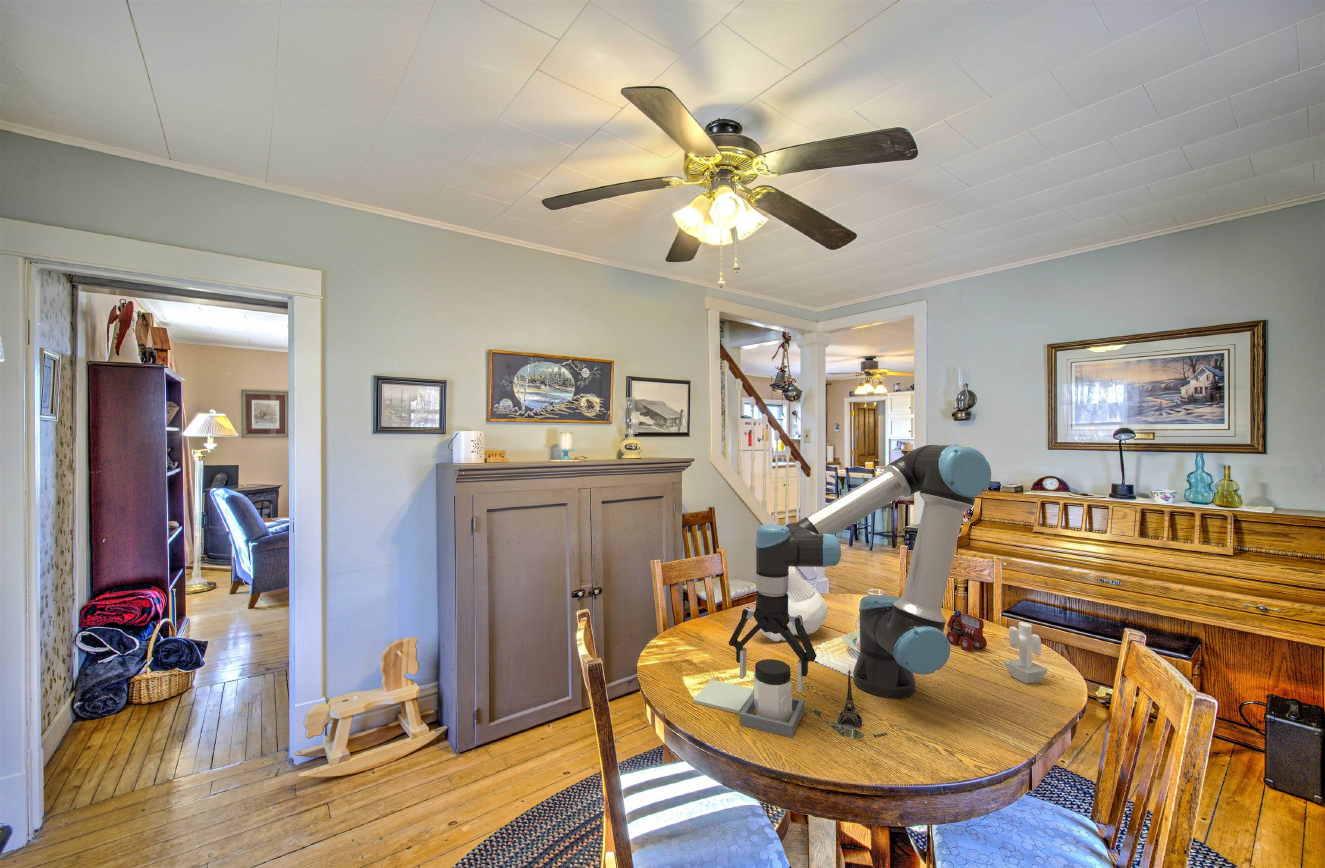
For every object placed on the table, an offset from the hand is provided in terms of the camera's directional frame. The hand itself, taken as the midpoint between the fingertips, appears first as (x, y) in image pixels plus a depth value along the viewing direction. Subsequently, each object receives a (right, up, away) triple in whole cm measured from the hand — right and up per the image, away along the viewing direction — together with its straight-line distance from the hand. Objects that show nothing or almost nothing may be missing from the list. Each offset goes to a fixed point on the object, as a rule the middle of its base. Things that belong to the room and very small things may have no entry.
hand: (770, 682), depth 124 cm
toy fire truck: (+69, -8, +42) cm, 81 cm away
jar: (0, -8, 0) cm, 8 cm away
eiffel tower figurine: (+17, -9, -2) cm, 19 cm away
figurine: (+72, -8, +19) cm, 75 cm away
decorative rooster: (+16, -9, +51) cm, 55 cm away
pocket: (0, -8, 0) cm, 8 cm away
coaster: (-10, -8, +10) cm, 16 cm away
